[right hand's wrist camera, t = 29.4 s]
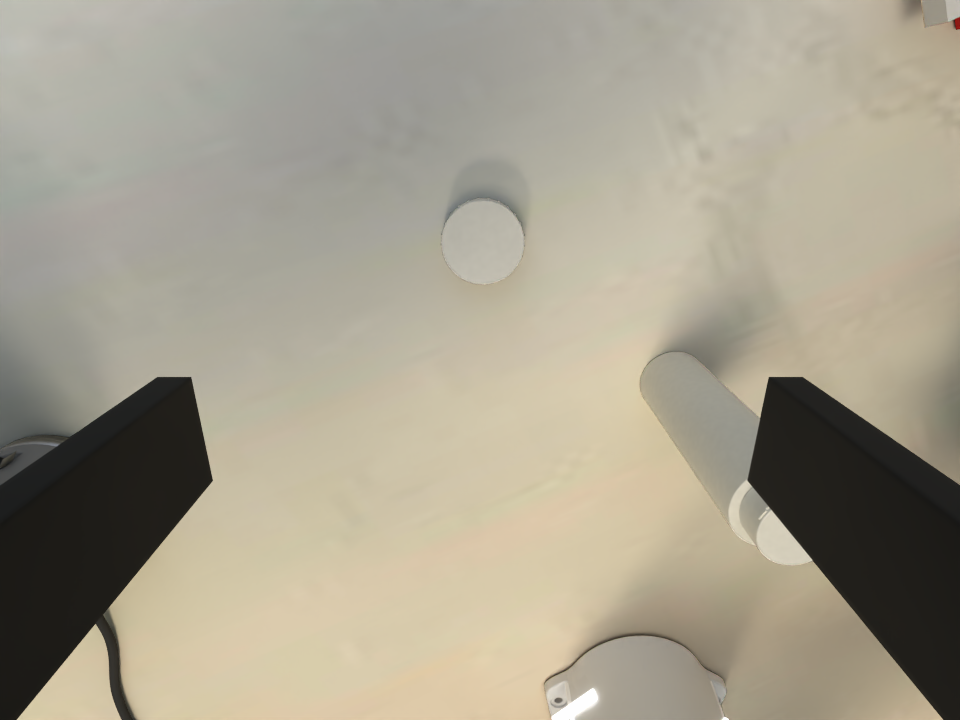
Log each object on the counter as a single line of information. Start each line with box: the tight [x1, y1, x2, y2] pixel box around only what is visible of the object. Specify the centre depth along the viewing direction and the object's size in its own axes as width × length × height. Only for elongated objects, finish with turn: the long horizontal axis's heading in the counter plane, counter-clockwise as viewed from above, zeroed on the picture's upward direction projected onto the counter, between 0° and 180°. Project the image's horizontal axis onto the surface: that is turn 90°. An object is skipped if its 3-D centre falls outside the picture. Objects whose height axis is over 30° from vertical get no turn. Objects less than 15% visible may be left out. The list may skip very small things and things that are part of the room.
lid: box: [441, 197, 525, 285], centre depth 39 cm, size 6×6×2 cm
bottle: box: [640, 352, 813, 565], centre depth 35 cm, size 5×5×19 cm
